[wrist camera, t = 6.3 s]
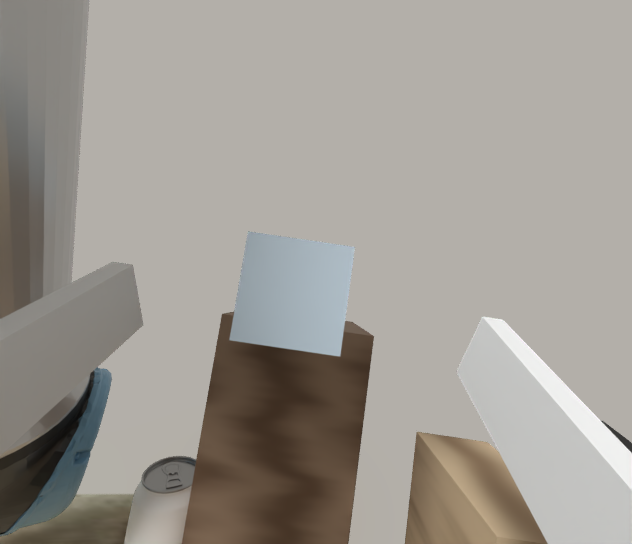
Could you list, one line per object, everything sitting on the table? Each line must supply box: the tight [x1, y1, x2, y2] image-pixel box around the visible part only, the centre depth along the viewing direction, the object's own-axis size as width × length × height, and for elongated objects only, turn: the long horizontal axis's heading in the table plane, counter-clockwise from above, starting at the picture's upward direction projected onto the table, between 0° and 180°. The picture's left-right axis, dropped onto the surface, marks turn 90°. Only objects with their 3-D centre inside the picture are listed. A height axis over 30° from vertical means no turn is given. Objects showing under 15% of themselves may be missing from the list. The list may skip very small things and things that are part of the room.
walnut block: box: [182, 312, 374, 544], centre depth 21 cm, size 10×10×30 cm
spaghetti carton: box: [229, 232, 355, 356], centre depth 21 cm, size 22×4×4 cm, turn 0°
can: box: [124, 456, 196, 544], centre depth 27 cm, size 6×6×12 cm
